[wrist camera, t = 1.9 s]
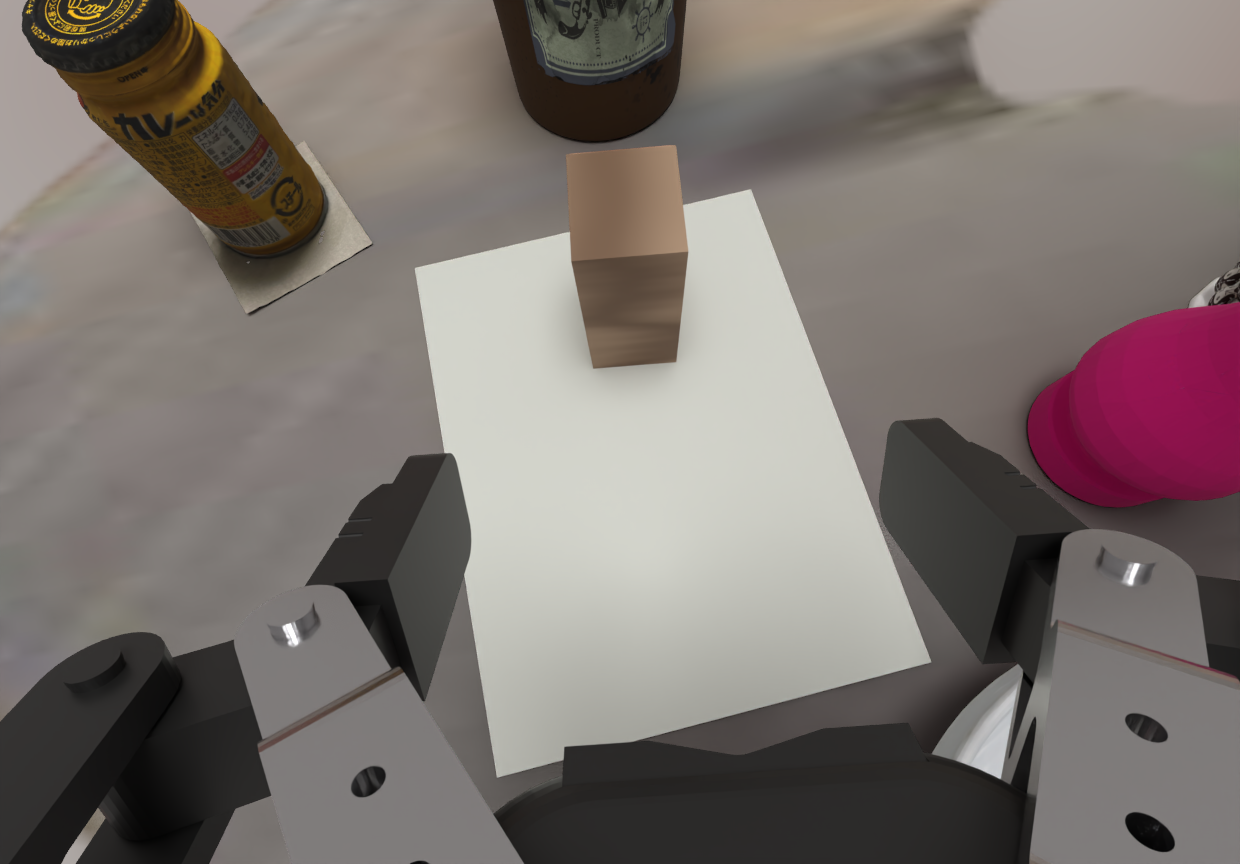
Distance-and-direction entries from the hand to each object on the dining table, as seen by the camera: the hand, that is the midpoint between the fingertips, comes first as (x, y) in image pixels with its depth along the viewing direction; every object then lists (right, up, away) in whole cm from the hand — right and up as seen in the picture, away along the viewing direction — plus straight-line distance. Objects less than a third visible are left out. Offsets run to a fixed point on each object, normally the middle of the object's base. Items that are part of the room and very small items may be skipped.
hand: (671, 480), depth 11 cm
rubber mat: (0, 0, +17) cm, 17 cm away
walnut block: (0, +6, +19) cm, 20 cm away
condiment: (-19, +12, +22) cm, 32 cm away
